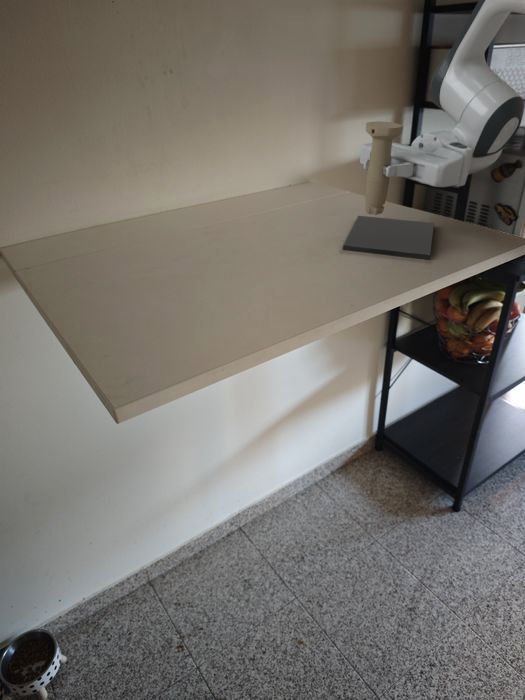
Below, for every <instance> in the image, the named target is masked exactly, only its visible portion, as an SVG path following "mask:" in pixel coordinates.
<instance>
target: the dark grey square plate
mask: <svg viewBox="0 0 525 700" xmlns="http://www.w3.org/2000/svg"><path fill="white" fill-rule="evenodd" d="M434 225H435V222H427V221H419V220H409V219H408V220H407V219H398V218H397V219H396V218H387V217H377V216H367V215H366V216H365V215H357V217H356V219H355V221H354V223H353V225H352V227H351V229H350V231H349V233H348V235H347V237H346V239H345V241H344V243H343V245H342V250H343V251H348V252H349V251H350V252H359V253H368V254H375V255H376V254H377V255H383V256H384V255H385V256H394V257H402V258H411V259H417V260H418V259H419V260H428V261H429V260H430V258H431V252H432V243H433V234H434V227H435V226H434Z"/></svg>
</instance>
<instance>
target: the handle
mask: <svg viewBox="0 0 525 700" xmlns="http://www.w3.org/2000/svg"><path fill="white" fill-rule="evenodd" d="M403 129H404V126H403V125H402V124H400V123H396V122H392V121H383V120H382V121H381V120H376V121H368V122H366V123H365V132H366V133H367V134H368V135H370V137H371V138H372V140H371V143H372V149H371V156H370V162H369V168H368V170H367V175H366V183H365V196H364V197H365V205H364V206H365V212H366V213H367V214H368V215H374V216H377V215H381V214H383V213H384V210H385V206H384V205H385V204H386V200H387V196H388V191H389V184H390V177H386V176H384V175H382V171H383V166H384V165H388V164H390V161H391V149H392V142H394V139H396V138H398V137H400V136H401V135H402V134H403Z"/></svg>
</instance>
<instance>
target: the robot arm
mask: <svg viewBox="0 0 525 700" xmlns="http://www.w3.org/2000/svg"><path fill="white" fill-rule="evenodd" d="M511 13H516V14H523V15H525V0H478V2H477V3H476V5H475V7H474V9H473V11H472V12H471V14H470V16H469V17H468V18H467V21H466V22H465V25H464V26H463V28H462V29H461V32H460V33H459V35H458V36H457V38H456V40H455V42H454V44H453V45H452V47H451V48H450V50H449V52H448V53H447V54H446V55H445V57H444V58H443V60H442V61H441V62H440V63H439V65H438V66H437V68H436V69H435V70H434V72H433V74H432V77H431V81H430V86H429V96H430V97H429V98H430V100H431V102H432V103H433V104H434V105H435V106H437V107H438V108H439V109H440V110H441V111H443V112H444V113H446V114H447V115H448V117H450V118H451V119H452V120H453V122H454V123H455V124H456V125H455V126H454V128H452V129H451V130H439V131H432V132H425V133H421V134H420V135H418V136H417V137H416V138H415V139H414V140H413V141H412V143H411V144H410V145H407V144H403V143H399V142H394V141H393V142H392V149H391V161H390V164H388V165H384V166H383V171H382V175H384V176H386V177H389V178H393V177H400V178H405V179H408V180H410V181H411V180H412V181H416V182H417V183H419V184H422V185H428V186H431V187H434V188H450V187H457V188H458V187H463V186H465V185H466V183H467V179H468V176H469V175H472V174H475V173H478V172H481V171H482V170H485V169H486V168H488V167H490V166H491V165H493V164H494V163H496V161H497V160H498V159H499V158H500V156H501V154H502V152H503V149H504V148H505V147H506V146H507V145H508V144H509V142H510V141H511V140H512V139H513V138H514V136H515V135H516V134H517V132H518V130H519V128H520V127H521V123H522V121H523V116H524V111H525V101H524V98H523V97H522V96H521V95H520V94H519V93H518V92H517V91H515V89H514V88H513V87H512V86H511V85H510V84H509V83H508V82H506V80H503V79H502V78H501V77H500V76H499V75H498V74H497V73H496V72H495V71H494V70H493V69H492V68H490V66H489V65H488V63H487V61H486V55H485V53H486V51H487V49H488V48H489V47H490V44H491V43H492V42H493V40H494V39H495V37H496V35H497V34H498V32H499V31H500V29H501V27H502V26H503V24H504V23H505V21H506V20H507V18H508V17H509V16H510V14H511ZM371 149H372V142H370V143H365V144H362V146H361V147H360V155H359V164H361V165H362V166H363V170H365V171H368V168H369V162H370V156H371Z"/></svg>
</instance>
